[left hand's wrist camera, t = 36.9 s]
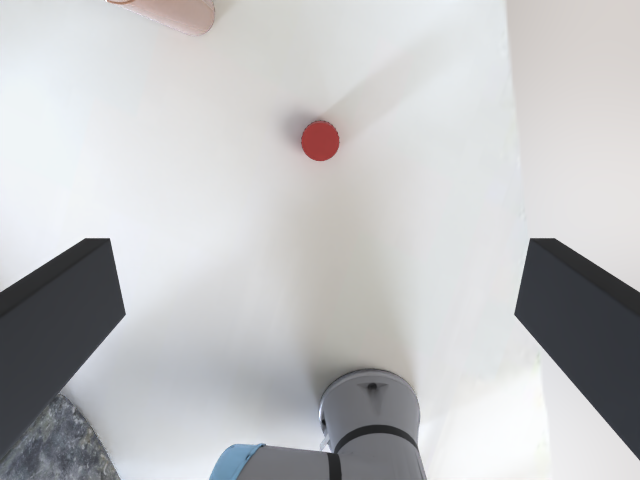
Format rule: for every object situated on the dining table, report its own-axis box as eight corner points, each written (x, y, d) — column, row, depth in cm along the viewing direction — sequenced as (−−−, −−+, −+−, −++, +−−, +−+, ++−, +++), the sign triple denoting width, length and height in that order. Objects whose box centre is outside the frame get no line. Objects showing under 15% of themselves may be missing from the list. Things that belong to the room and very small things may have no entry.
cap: (299, 154, 47) (298, 158, 44) (305, 117, 45) (304, 118, 43) (335, 160, 47) (335, 164, 44) (341, 123, 45) (342, 125, 43)
